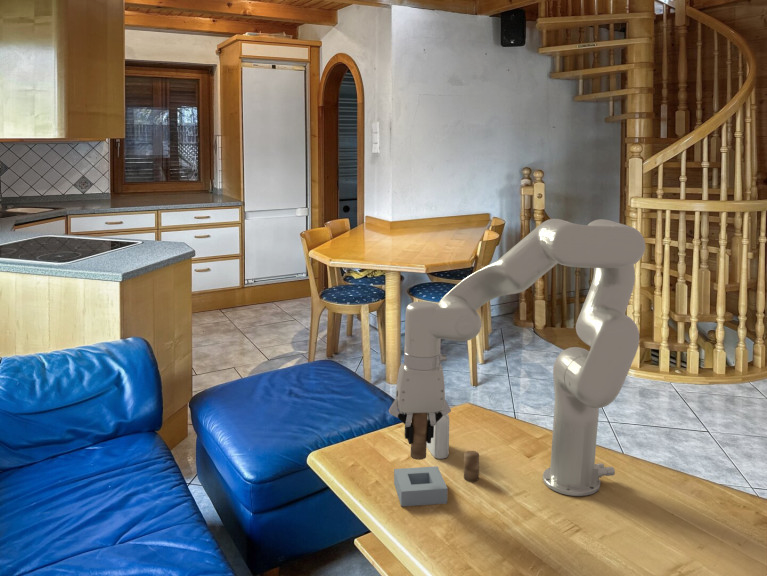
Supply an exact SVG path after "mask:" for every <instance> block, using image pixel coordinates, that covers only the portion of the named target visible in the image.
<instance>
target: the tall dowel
mask: <svg viewBox="0 0 767 576" xmlns="http://www.w3.org/2000/svg"><path fill="white" fill-rule="evenodd" d="M427 422H428V413H413V415H412V421H411V423H412V426H413V443H412V444H410V458H411V459H413V460H417V461H421V460H425V459H426V458H427Z"/></svg>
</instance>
